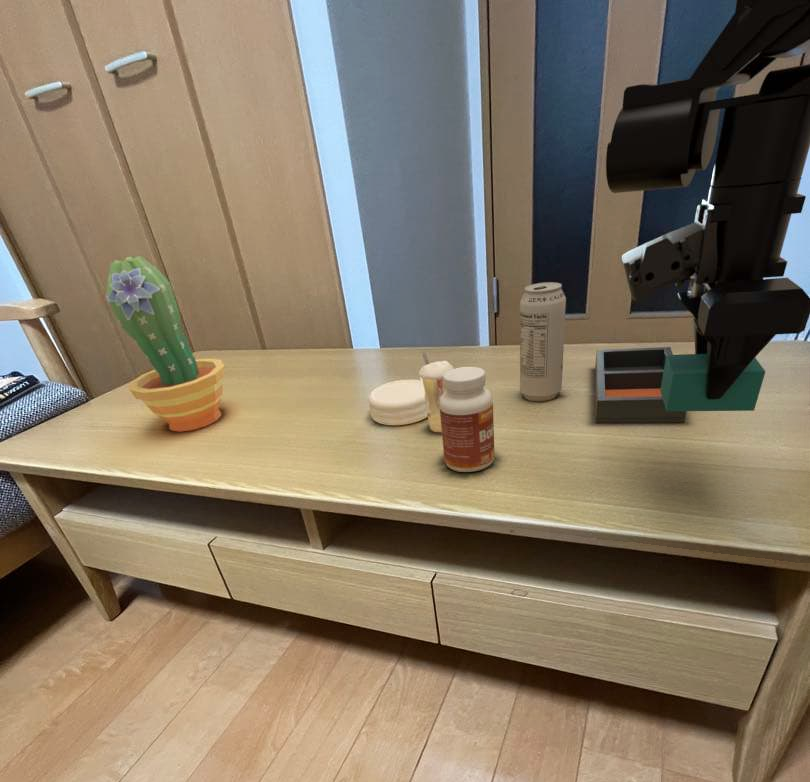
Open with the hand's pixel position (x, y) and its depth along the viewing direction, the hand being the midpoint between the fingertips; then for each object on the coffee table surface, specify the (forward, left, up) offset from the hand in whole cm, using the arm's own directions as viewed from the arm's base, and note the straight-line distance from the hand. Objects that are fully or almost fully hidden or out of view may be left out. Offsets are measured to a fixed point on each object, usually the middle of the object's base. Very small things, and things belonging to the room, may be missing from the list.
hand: (707, 387), depth 47 cm
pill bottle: (+23, -4, -11) cm, 26 cm away
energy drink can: (+16, -25, -11) cm, 32 cm away
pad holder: (+3, -25, -11) cm, 28 cm away
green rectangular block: (0, 0, -1) cm, 1 cm away
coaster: (+36, -19, -11) cm, 43 cm away
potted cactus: (+73, -17, -11) cm, 76 cm away
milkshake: (+29, -15, -11) cm, 35 cm away
